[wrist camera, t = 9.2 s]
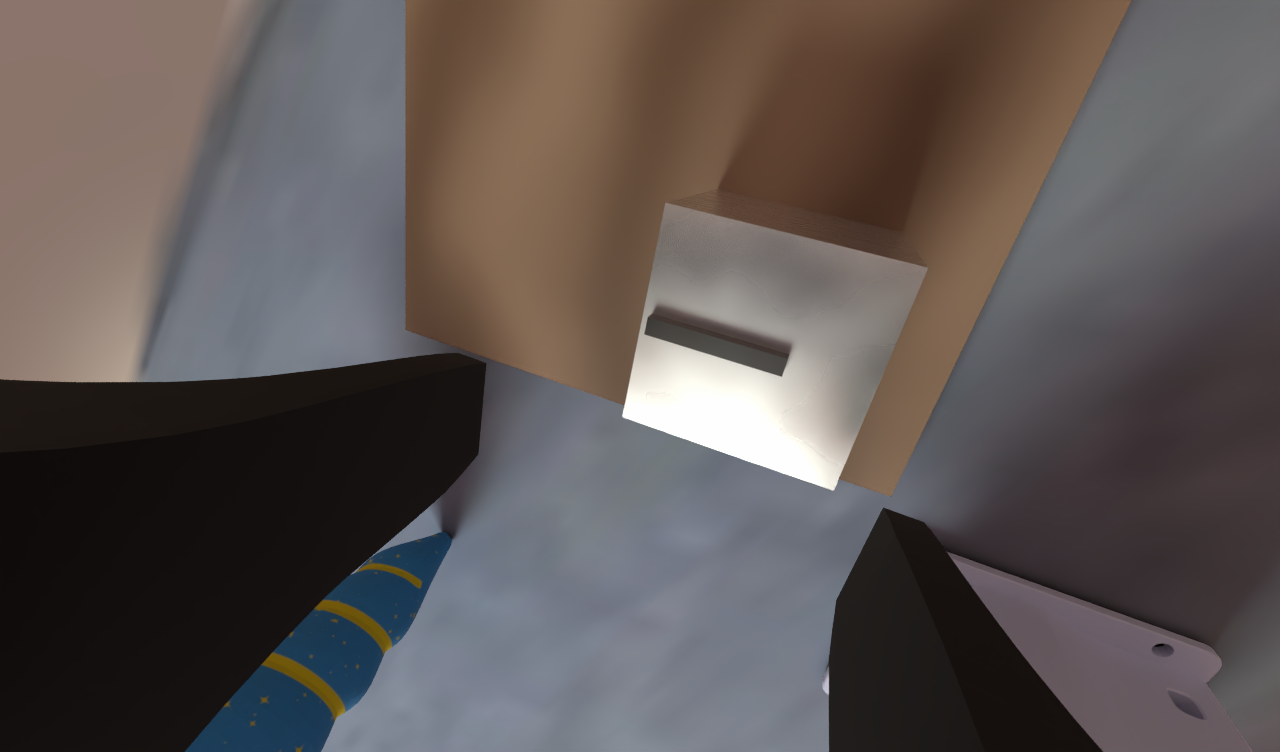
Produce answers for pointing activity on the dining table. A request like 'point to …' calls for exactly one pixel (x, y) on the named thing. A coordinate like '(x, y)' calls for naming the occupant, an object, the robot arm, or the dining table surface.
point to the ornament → (328, 656)
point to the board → (724, 161)
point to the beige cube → (769, 329)
